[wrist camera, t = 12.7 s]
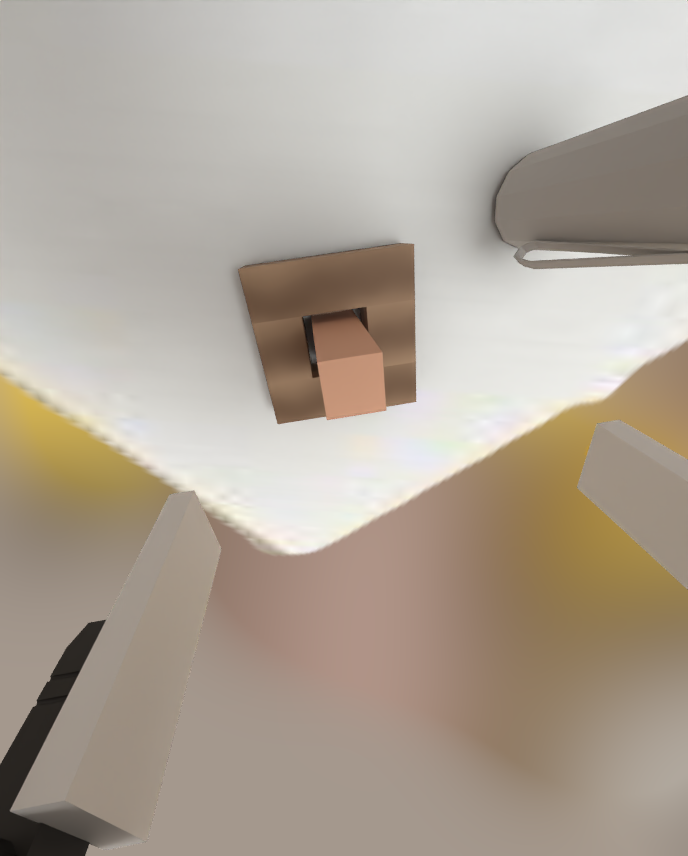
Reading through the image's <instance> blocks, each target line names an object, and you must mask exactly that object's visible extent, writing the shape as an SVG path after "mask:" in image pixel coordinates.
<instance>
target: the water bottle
mask: <svg viewBox="0 0 688 856" xmlns="http://www.w3.org/2000/svg"><path fill="white" fill-rule="evenodd" d="M495 223H496V226H497V228H498V230H499V232H500V234H501V236H502V238H503V241H505V242H507V243H509V244H511V245H513V246H515V247H517V248H519V249H518V251H517V252H516V254H515V255H514V256H513V257H514V258H515V259H516V260H517V261H518V262H519V263H520V264H522V265H523V266H525V267H529V268H533V269H549V268H577V267H606V266H634V265H662V264H688V95H687V96H685V97H682V98H679V99H676V100H674V101H671V102H668V103H666V104H663V105H660V106H657V107H655V108H652V109H649V110H647V111H644V112H641V113H638V114H636V115H633V116H630V117H628V118H625V119H622V120H619V121H617V122H614V123H611V124H609V125H606V126H603V127H600V128H598V129H595V130H592V131H590V132H587V133H584V134H581V135H579V136H576V137H573V138H571V139H568V140H565V141H562V142H560V143H557V144H554V145H551V146H549V147H546V148H543V149H541V150H538V151H535V152H532V153H530V154H528V155H527V156H526V157H525V158H524V159H522V160H521V161H520V162H519V163H518V164H517V165H516V166H514V167H513V168H512V169H511V170H510V171H509V172H508V174H507V176H506V178H505V180H504V182H503V184H502V186H501V188H500V190H499V192H498V194H497V197H496V211H495ZM532 250H550V251H570V252H589V253H606V254H619V255H632V256H616V257H597V258H578V259H559V260H540V261H528V260H524V259H522V258H523V257H524V256H525V254H526V253H527V252H529V251H532Z"/></svg>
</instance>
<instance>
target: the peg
mask: <svg viewBox="0 0 688 856" xmlns="http://www.w3.org/2000/svg"><path fill="white" fill-rule="evenodd" d="M311 320H312V328H313V335H314V343H315V350H316V358H317V365H318V371H319V376H320V382H321V388H322V394H323V400H324V406H325V412H326V418H327V420H331V419H337V418H343V417H349V416H355V415H361V414H367V413H374V412H380V411H386V398H385V383H384V368H383V352H382V351H381V349H380V348H379V347H378V345H377V344H376V342H375V341H374V340H373V338H372V337H371V335H370V334H369V333H368V331H367V330H366V328H365V327H364V326H363V324H362V323H361V322H360V320H359V319H358V317H357V316H356V315H355V313H354V312H353V310H352V309H351V310H344V311H338V312H331V313H325V314H318V315H311Z"/></svg>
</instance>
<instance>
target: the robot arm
mask: <svg viewBox="0 0 688 856" xmlns="http://www.w3.org/2000/svg"><path fill="white" fill-rule="evenodd" d="M577 488H578V489H579V490H580V491H581V492H582V493H583V494H584V495H585V496H587V497H588V498H589V499H590V500H591V501H592V502H593V503H594V504H595V505H596V506H597V507H599V508H600V509H601V510H602V511H603V512H604V513H605V514H606V515H607V516H608V517H610V519H612V520H613V521H614V522H615V523H616V524H617V525H618V526H619V527H620V528H622V529H623V530H624V531H625V532H626V533H627V534H628V535H629V536H630V537H631V538H632V539H633V540H634V541H636V542H637V543H638V544H639V545H640V546H641V547H642V548H643V549H644V550H645V551H646V552H647V553H649V554H650V555H651V556H652V557H653V558H654V559H655V560H656V561H657V562H658V563H660V564H661V565H662V566H663V567H664V568H665V569H666V570H667V571H668V572H669V573H670V574H671V575H673V576H674V577H675V578H676V579H677V580H678V581H679V582H680V583H681V584H682V585H683V586H685V587H686V588H687V589H688V459H686V458H684V457H682V456H681V455H679V454H677V453H676V452H674V451H672V450H670V449H669V448H667V447H665V446H664V445H662V444H660V443H658V442H656V441H655V440H653V439H652V438H650V437H648V436H646V435H645V434H643V433H641V432H640V431H638V430H636V429H634V428H633V427H631V426H629V425H628V424H626V423H624V422H622V421H621V420H615V421H609V422H603V423H597V425H596V428H595V431H594V435H593V438H592V441H591V444H590V447H589V451H588V454H587V457H586V460H585V463H584V466H583V470H582V473H581V476H580V480H579V483H578V486H577ZM220 552H221V547H220V545H219V543H218V540H217V538H216V536H215V534H214V532H213V530H212V528H211V526H210V523H209V521H208V519H207V517H206V515H205V512H204V510H203V508H202V506H201V504H200V502H199V500H198V497H197V495H196V493H195V491H194V490H193V491H187V492H181V493H175V494H170V495H169V497H168V499H167V501H166V503H165V505H164V507H163V509H162V511H161V513H160V515H159V517H158V518H157V520H156V522H155V525H154V526H153V528H152V530H151V532H150V534H149V536H148V538H147V540H146V542H145V544H144V546H143V548H142V550H141V552H140V554H139V556H138V558H137V560H136V562H135V564H134V566H133V568H132V570H131V572H130V574H129V576H128V578H127V580H126V582H125V584H124V586H123V588H122V590H121V592H120V594H119V596H118V598H117V600H116V602H115V604H114V606H113V608H112V610H111V612H110V613H109V615H108V618H107V619H106V620H102V621H97V622H91V623H88V624H87V625H86V627H85V628H84V629H83V630H82V631H81V632H80V633H79V635H78V636H77V637H76V638H75V639H74V640H73V641H72V642H71V644H70V645H69V646H68V647H67V648H66V650H65V652H64V654H63V655H62V657H61V659H60V660H59V662H58V664H57V666H56V667H55V669H54V671H53V673H52V675H51V680H50V681H49V682H47V683H46V685H45V687H44V688H43V690H42V692H41V694H40V696H39V697H38V699H37V705H36V706H35V707H33V708H32V710H31V711H30V713H29V715H28V717H27V718H26V720H25V722H24V724H23V726H22V727H21V729H20V731H19V733H18V734H17V736H16V738H15V740H14V741H13V743H12V745H11V747H10V748H9V750H8V752H7V754H6V756H5V757H4V759H3V761H2V763H1V764H0V856H85V854H86V851H87V848H88V845H89V844H91V845H94V846H96V847H98V848H101V849H103V850H109V849H114V848H119V847H124V846H129V845H134V844H139V843H144V842H147V841H148V837H149V832H150V829H151V824H152V821H153V817H154V813H155V809H156V805H157V801H158V797H159V793H160V789H161V785H162V781H163V777H164V773H165V770H166V766H167V762H168V758H169V754H170V750H171V746H172V741H173V738H174V734H175V730H176V726H177V722H178V718H179V714H180V710H181V706H182V703H183V698H184V695H185V691H186V687H187V683H188V679H189V675H190V671H191V667H192V662H193V659H194V655H195V651H196V647H197V643H198V639H199V635H200V631H201V628H202V624H203V620H204V616H205V611H206V608H207V604H208V599H209V596H210V592H211V588H212V584H213V580H214V576H215V572H216V568H217V564H218V560H219V556H220Z"/></svg>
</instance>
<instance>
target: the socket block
mask: <svg viewBox="0 0 688 856" xmlns="http://www.w3.org/2000/svg"><path fill="white" fill-rule="evenodd" d="M238 272H239V275H240V279H241V283H242V287H243V291H244V295H245V299H246V303H247V306H248V310H249V314H250V318H251V322H252V326H253V330H254V334H255V338H256V341H257V345H258V349H259V353H260V357H261V361H262V365H263V369H264V372H265V376H266V380H267V384H268V388H269V392H270V396H271V400H272V404H273V407H274V411H275V415H276V419H277V423H278V424H282V423H288V422H294V421H301V420H307V419H313V418H319V417H325V416H326V412H325V406H324V400H323V394H322V388H321V382H320V376H319V371H318V365H317V363H315V364H311V359H310V353H309V348H308V342H307V336H306V331H305V325H304V320H303V316H309V315H315V314H322V313H328V312H335V311H342V310H348V309H355V308H360V311H361V322H362V324H363V326H364V327H365V328H366V330H367V331H368V333H369V334H370V335H371V337H372V338H373V340H374V341H375V342H376V344H377V345H378V347H379V348H380V349H381V351H382V352H383V368H384V383H385V398H386V407H387V406H393V405H400V404H406V403H412V402H416V358H415V283H414V244H405V243H399V244H392V245H385V246H379V247H372V248H365V249H358V250H351V251H344V252H337V253H330V254H323V255H316V256H309V257H302V258H295V259H288V260H281V261H274V262H267V263H261V264H254V265H247V266H244V267H242V268H240V269H238Z"/></svg>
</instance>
